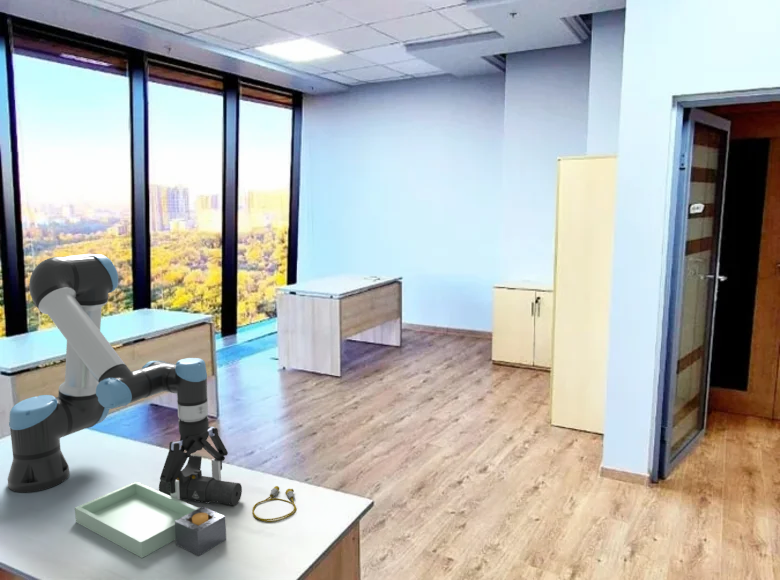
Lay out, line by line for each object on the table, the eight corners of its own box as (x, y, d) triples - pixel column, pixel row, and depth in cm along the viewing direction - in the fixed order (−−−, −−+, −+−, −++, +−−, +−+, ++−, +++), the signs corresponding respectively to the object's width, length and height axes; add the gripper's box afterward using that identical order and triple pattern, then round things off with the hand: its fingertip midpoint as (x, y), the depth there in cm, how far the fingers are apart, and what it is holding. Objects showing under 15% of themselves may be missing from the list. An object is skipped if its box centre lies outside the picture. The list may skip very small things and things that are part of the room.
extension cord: (313, 500, 160) (313, 493, 160) (276, 528, 146) (276, 520, 146) (277, 489, 166) (277, 483, 166) (239, 515, 152) (238, 508, 152)
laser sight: (227, 514, 152) (226, 477, 151) (151, 503, 158) (149, 467, 156) (245, 496, 162) (244, 461, 160) (173, 486, 167) (171, 452, 166)
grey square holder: (175, 544, 138) (174, 521, 137) (203, 529, 145) (202, 506, 144) (198, 556, 134) (197, 531, 133) (226, 539, 141) (225, 516, 140)
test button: (189, 537, 139) (188, 517, 138) (202, 530, 142) (201, 511, 141) (199, 542, 137) (198, 522, 136) (212, 535, 140) (211, 515, 139)
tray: (75, 522, 148) (74, 507, 147) (137, 494, 162) (136, 481, 161) (142, 558, 133) (141, 542, 133) (203, 524, 147) (202, 509, 147)
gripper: (161, 435, 144) (165, 517, 147) (239, 406, 165) (241, 478, 168) (142, 429, 148) (147, 508, 151) (220, 401, 169) (223, 471, 172)
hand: (196, 492), depth 159 cm, fingers open, 13 cm apart
